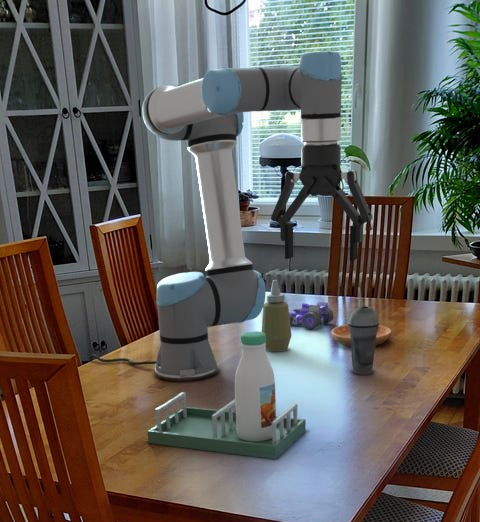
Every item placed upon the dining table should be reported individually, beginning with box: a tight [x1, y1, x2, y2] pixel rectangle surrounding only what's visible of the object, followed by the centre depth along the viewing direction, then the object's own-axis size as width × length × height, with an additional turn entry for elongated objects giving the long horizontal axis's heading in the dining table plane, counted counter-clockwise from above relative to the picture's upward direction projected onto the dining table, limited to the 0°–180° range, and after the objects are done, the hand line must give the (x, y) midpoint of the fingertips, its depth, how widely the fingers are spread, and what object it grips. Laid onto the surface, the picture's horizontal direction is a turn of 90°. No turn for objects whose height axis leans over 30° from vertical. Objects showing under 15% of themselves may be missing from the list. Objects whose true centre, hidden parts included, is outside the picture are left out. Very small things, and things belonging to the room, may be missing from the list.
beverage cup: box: [347, 286, 380, 376], centre depth 204 cm, size 7×7×20 cm
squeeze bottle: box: [261, 279, 293, 352], centre depth 227 cm, size 8×8×18 cm
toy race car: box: [289, 301, 334, 331], centre depth 254 cm, size 10×15×6 cm, turn 54°
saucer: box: [331, 323, 392, 347], centre depth 234 cm, size 16×16×3 cm
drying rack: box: [147, 391, 307, 460], centre depth 171 cm, size 27×16×6 cm, turn 66°
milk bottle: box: [234, 331, 277, 441], centre depth 165 cm, size 8×8×20 cm
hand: (320, 258), depth 174 cm, fingers open, 13 cm apart
